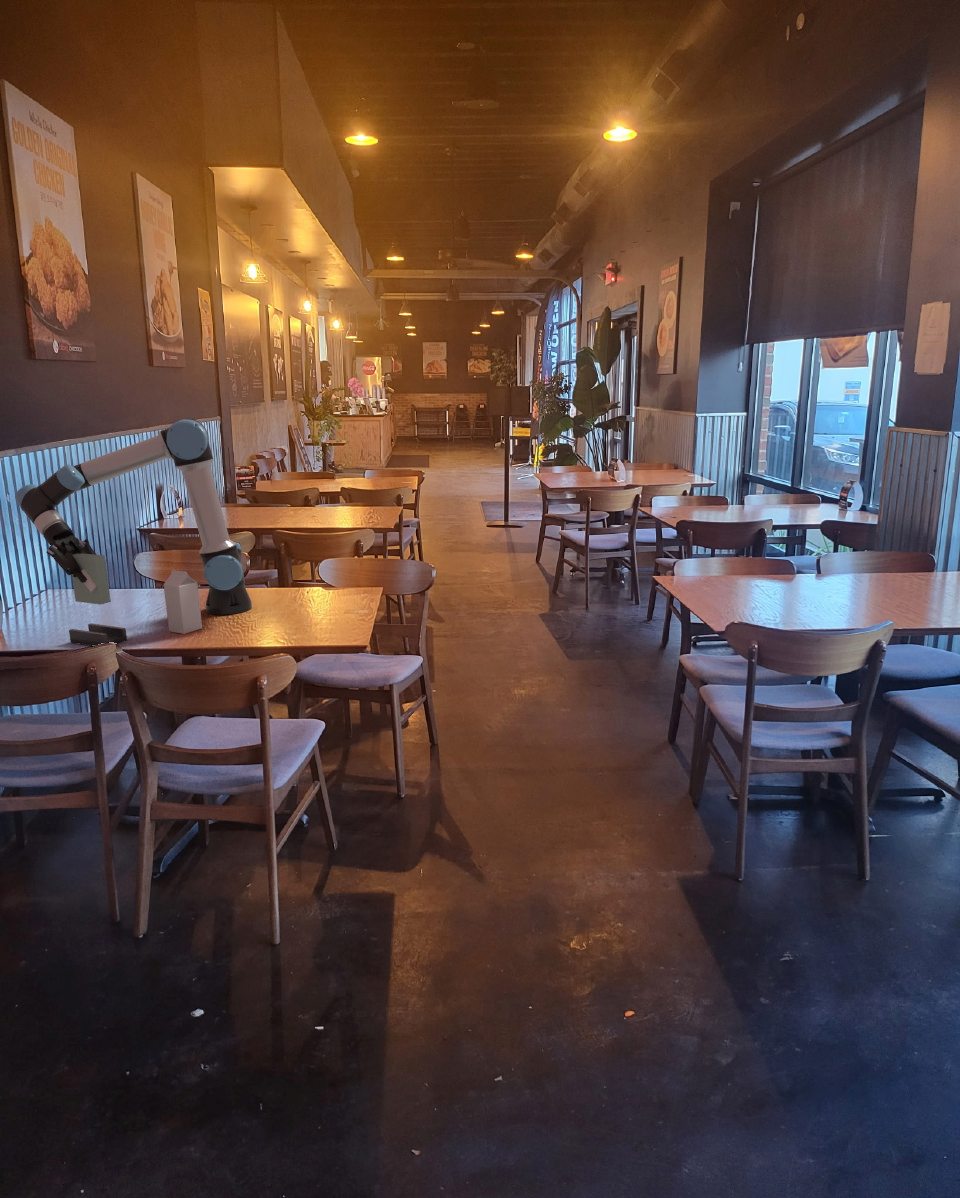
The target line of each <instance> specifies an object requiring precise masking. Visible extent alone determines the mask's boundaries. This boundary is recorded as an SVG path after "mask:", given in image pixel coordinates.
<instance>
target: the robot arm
mask: <svg viewBox="0 0 960 1198" xmlns="http://www.w3.org/2000/svg"><path fill="white" fill-rule="evenodd" d="M209 440H210V439H209V432H208V430H207V428H206V427H205V425H204V424H202V423H201V422H200V421H198V420H197V419H196V420H195V419H192V418H184V419H180V420H176V421H175V422H173V423H172V424H171V425H170V427H168V428H165V429H163V430H160V431H159V432H158V434H157V435H156V436H153V437H149V438H148V439H147V438H146V439H144V440H142V441H138V442H136V443H133V444H131V445H128V446H125V447H123V448H119V449H117V450H114V451H111V452H108V453H105V454H102V455H100V456H97V457H94V458H91V459H89V460H86V461H83V462H81V463H79V464H76V465H75V464H74V465H73V466H72V465H71V464H67V463H66V464H64V465H63V466H62V467H60V468H59V469H57V470H56V471H55V472H54V473H53V474H52V475H50V476H49V477H48V478H47V479H45V480H44V481H43V482H42V483H41V484H39V485H36V484H31V483H30V484H26V485H25V486H22V487H21V488H19V489H17V491H16V493H15V496H14V498H15V501H16V503H17V504H18V506H19V507H20V509H21V511H22V512H23V513H24V514H25V515H26V516H27V518H28V519H29V520H30V521H31V522H32V524H33V525H34V527H35V528H36V529H37V531H38V532H39V533H40V534H41V535H42V536H43V537H42V538H44V540H45V541H46V542H47V544H48V545H49V547H48V548H47V550H46V554H47V555H49V556H50V557H51V558H52V559H54V561H55V562H56V563H57V564H58V566H60V568H61V569H62V570H63V572H65V573H66V574H67V576H72V574H73V577H78V579H79V580H80V581H81V582H82V583H84V584H85V585H86V586H87V588H88V589H89V590H90V592H93V591H94V590H95V588H96V587H97V586H96V584H95V583H94V582H93V580H92V579H91V578H90V577H89V575H88V574H87V573H86V571H85V570H81V569H80V567H79V565H78V563H77V561H76V560H75V558H74V557H73V554H93V555H97V553H96V552H95V550H94V549H93V548H92V546H91V545H90V542H89V539H87V538H86V539H84V540H80V539H79V538H78V537H76V536H75V535H74V534H75V533H74V531H73V530H72V528H71V527H70V526H69V524H68V523H67V522H66V521H65V520H64V518H63V517H62V515H60V513H59V512H58V511H57V509H56V507H57V506H58V505H60V504H61V503H62V502H63V501H65V500H67V498H69V497H70V496H71V495H73V494H74V493H76V492H79V491H81V490H83V489H87V488H90V487H92V486H94V485H97V484H100V483H103V482H105V481H108V480H111V479H113V478H116V477H119V476H122V475H124V474H127V473H131V472H133V471H136V470H139V469H141V468H144V467H147V466H150V465H152V464H155V463H158V462H161V461H163V460H165V459H166V460H167V459H170V460H172V461H173V463H174V467H175V468H176V469H178V470H179V471H181V472H182V475H183V480H184V483H185V487H186V491H187V494H188V498H189V501H190V505H191V509H192V512H193V515H194V519H195V523H196V528H197V531H198V533H199V538H200V542H201V544H202V546H201V547H200V549H199V556H200V559H201V563H202V567H203V576H204V580H205V581H206V582H207V584H208V593H207V598H206V601H205V612H206V613H208V614H210V615H218V616H219V615H220V616H222V615H234V614H239V613H240V614H241V613H245V612H246V611H249V610H251V609H252V608H253V605H252V600H251V597H250V595H249V592H248V590H247V588H246V584H245V575H244V567H243V555H242V552H243V550H242V547H241V546H242V545H241V544H240V543H239V542H235V541H233V540H231V539H230V535H229V531H228V528H227V527H228V526H227V524H226V521H225V516H224V512H223V509H222V506H221V502H220V497H219V495H218V491H217V488H216V486H217V485H216V484H215V479H214V475H213V472H212V468H211V464H212V463H213V461H214V456H213V453H212V449H211V444H210V441H209ZM80 570H81V571H80ZM109 583H110V582H108V585H109Z"/></svg>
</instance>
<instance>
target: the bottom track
mask: <svg viewBox="0 0 960 1198" xmlns="http://www.w3.org/2000/svg"><path fill="white" fill-rule="evenodd" d="M87 626H88V627H87V628H88V630H82V629H76V628H70V629H69V630H68V633H69V640H70V641H69V642H70V643H71V642H72V643H71V644H76V643H80V644H79V645H83V646H91V647H93V646H92V645H98V644H101V643H109V642H114V643H117V644H116V645H119V644H122V643H125V642H128V636H127V630H126V629H127V628H125V627H120V626H114V625H106V624H98V623H88V624H87Z"/></svg>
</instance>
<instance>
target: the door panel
mask: <svg viewBox="0 0 960 1198" xmlns="http://www.w3.org/2000/svg"><path fill="white" fill-rule="evenodd" d="M73 557H74V558H75V560H76V561H77V563H78V565H79V567H80V569H81V570H85V571H86V573H87V574H88V575H89V577H90V578H91V579H92V580H93V582H94V583H95V584H96V586H97V587H96V588H95V590H94V591H93V592H90V590H89V589H88V588H87V586H86V585H85V584H84V583H82V582H81V581H80V580H79V579H78V577H73V574H71V580H72V587H73V593H74V600H75V601H74V602H78V603H86V604H93V605H94V604H95V605H100V606H101V605H104V604H105V605H106V604H109V603H111V602H112V601H111V593H110V587H109V584H108V583H109V578H108V571H107V566H106V565H107V563H106V555H103V554H102V555H101V554H96V555H93V554H73ZM81 570H80V571H81Z"/></svg>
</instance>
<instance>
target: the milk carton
mask: <svg viewBox="0 0 960 1198" xmlns="http://www.w3.org/2000/svg"><path fill="white" fill-rule="evenodd" d="M170 571H171V574H170V575H169V576H168V578H167V579H166V580H165V582H164V583H163V589H164V590H163V591H164V600H165V607H166V614H167V624H168V631H169V632H172V633H176V634H177V633H178V634H182V635H185V634H188V633H191V632H195V631H197V630H201V629H203V625H202V615H201V614H202V613H201V605H200V596H199V595H200V594H199V586H198V581H196V580H195V579H193V578H192V577H191V576H190V575H189V574H188V572H187V571H185V570H184V571H183V570H177V569H176V570H175V569H171V570H170Z"/></svg>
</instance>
